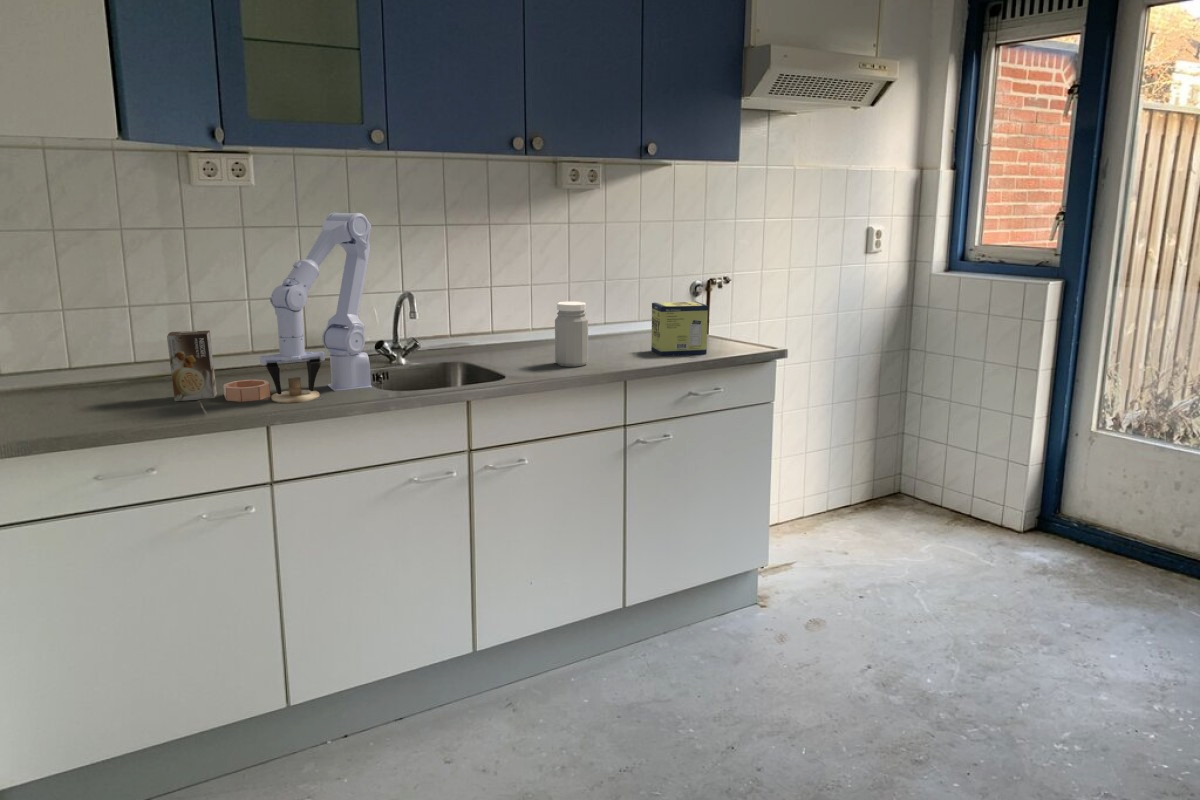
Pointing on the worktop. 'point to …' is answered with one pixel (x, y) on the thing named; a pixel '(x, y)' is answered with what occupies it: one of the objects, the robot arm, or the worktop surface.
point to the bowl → (246, 390)
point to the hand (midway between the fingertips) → (295, 391)
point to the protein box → (679, 328)
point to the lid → (295, 393)
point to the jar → (571, 334)
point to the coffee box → (191, 365)
